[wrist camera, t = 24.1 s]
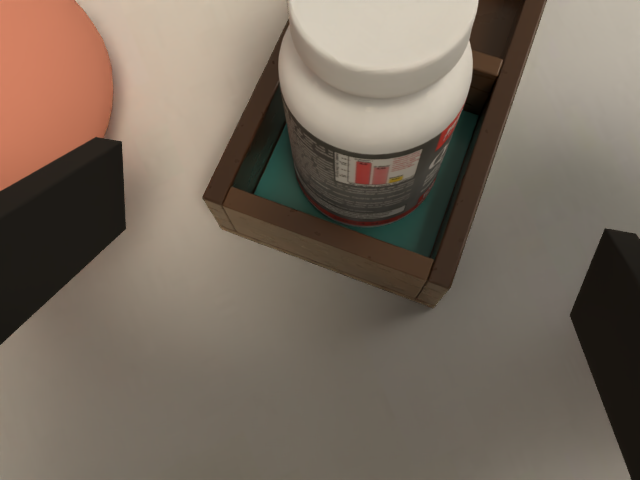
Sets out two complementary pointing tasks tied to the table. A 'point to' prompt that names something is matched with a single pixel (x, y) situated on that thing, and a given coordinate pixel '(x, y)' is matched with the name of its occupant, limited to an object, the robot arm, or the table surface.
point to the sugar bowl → (49, 84)
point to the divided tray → (407, 233)
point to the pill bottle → (373, 100)
